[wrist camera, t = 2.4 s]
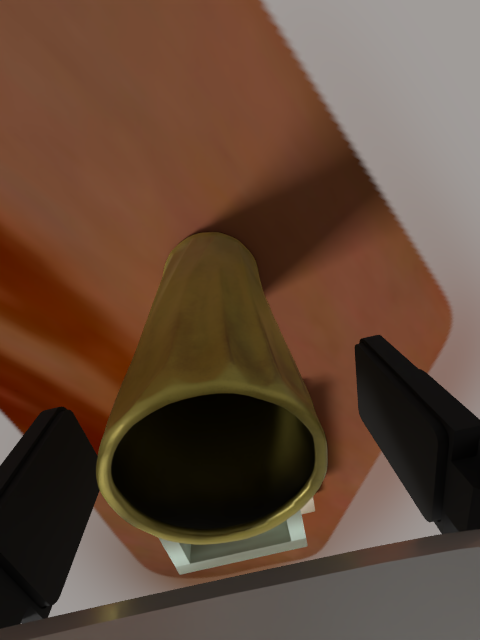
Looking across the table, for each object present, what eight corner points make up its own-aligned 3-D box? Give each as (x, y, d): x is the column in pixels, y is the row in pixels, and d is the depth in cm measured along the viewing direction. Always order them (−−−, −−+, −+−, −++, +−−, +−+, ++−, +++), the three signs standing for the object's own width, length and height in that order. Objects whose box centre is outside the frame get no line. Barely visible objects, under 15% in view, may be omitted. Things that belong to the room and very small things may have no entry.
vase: (274, 255, 19) (403, 415, 6) (235, 334, 21) (272, 569, 9) (183, 214, 18) (116, 316, 5) (150, 303, 20) (44, 535, 7)
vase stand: (120, 425, 24) (99, 483, 20) (292, 386, 24) (311, 435, 19) (173, 526, 30) (167, 588, 26) (310, 496, 30) (328, 552, 26)
